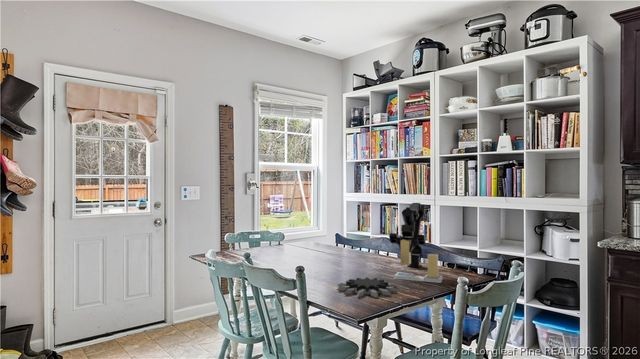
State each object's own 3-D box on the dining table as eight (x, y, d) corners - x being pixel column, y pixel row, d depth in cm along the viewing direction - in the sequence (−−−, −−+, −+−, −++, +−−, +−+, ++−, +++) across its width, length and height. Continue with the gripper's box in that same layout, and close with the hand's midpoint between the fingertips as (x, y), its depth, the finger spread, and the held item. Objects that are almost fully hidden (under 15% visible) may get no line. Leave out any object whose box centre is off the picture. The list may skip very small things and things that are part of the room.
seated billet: (429, 278, 199) (428, 253, 199) (438, 279, 197) (437, 254, 197) (427, 280, 195) (427, 255, 195) (437, 281, 193) (436, 255, 193)
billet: (402, 262, 210) (402, 239, 210) (410, 263, 208) (410, 239, 208) (400, 264, 205) (400, 240, 206) (409, 265, 204) (409, 240, 204)
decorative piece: (366, 271, 202) (413, 282, 179) (366, 279, 202) (413, 291, 179) (321, 281, 183) (368, 295, 160) (321, 289, 183) (368, 304, 160)
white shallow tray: (397, 276, 207) (397, 271, 207) (442, 280, 198) (442, 275, 198) (393, 280, 199) (393, 275, 199) (440, 284, 190) (440, 279, 190)
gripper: (389, 218, 214) (385, 241, 204) (424, 219, 207) (421, 243, 197) (393, 231, 221) (388, 254, 211) (426, 232, 214) (424, 256, 204)
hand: (405, 251), depth 205 cm, fingers closed on billet, 4 cm apart
